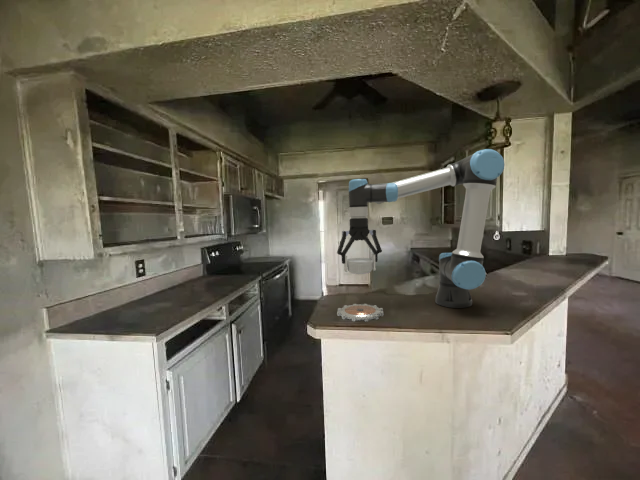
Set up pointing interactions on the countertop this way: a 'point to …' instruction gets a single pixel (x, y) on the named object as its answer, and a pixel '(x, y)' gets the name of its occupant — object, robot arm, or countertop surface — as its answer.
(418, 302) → the countertop surface
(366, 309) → the plate
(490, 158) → the robot arm
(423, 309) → the countertop surface
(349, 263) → the ramekin
